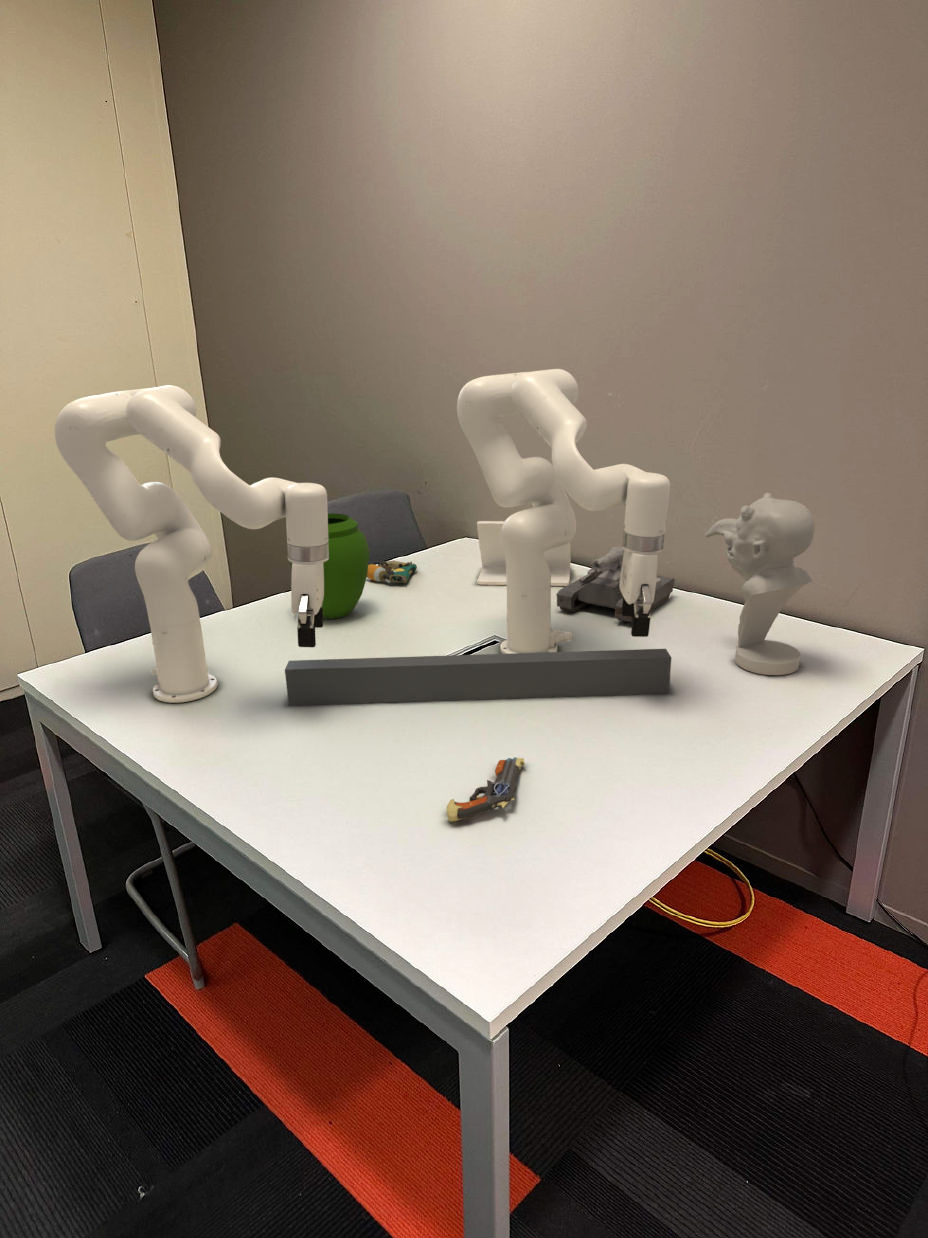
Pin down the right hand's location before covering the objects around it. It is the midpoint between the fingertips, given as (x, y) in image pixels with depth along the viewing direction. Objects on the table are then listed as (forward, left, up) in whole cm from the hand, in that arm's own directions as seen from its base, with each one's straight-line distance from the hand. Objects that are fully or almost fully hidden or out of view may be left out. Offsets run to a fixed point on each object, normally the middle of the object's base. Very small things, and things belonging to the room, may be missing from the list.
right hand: (634, 625), depth 164 cm
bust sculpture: (-29, -6, -13) cm, 33 cm away
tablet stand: (-1, -76, -13) cm, 77 cm away
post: (+30, -6, -13) cm, 33 cm away
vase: (+54, -60, -13) cm, 82 cm away
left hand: (+61, -12, 0) cm, 62 cm away
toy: (-15, -46, -13) cm, 50 cm away
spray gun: (+35, -86, -13) cm, 94 cm away
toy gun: (+37, +30, -13) cm, 49 cm away
